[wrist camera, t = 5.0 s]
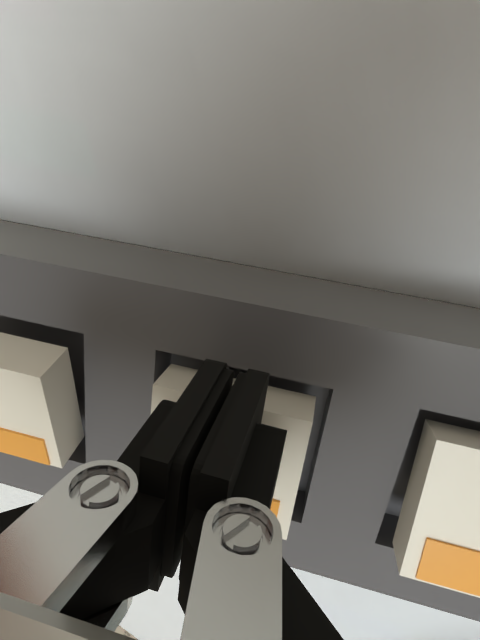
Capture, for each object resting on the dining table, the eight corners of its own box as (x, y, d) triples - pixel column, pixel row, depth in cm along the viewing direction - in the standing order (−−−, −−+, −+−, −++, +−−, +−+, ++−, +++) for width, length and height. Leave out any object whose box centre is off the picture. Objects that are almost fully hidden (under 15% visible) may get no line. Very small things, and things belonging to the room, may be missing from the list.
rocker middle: (161, 471, 15) (143, 502, 14) (171, 363, 14) (151, 385, 12) (292, 506, 14) (286, 542, 13) (316, 396, 13) (312, 423, 12)
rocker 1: (-25, 407, 17) (-56, 437, 15) (-59, 318, 14) (-98, 346, 13) (84, 436, 16) (61, 470, 15) (68, 347, 14) (38, 379, 12)
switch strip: (-17, 411, 21) (-82, 459, 17) (-41, 212, 17) (-128, 228, 14) (704, 600, 16) (788, 711, 13) (877, 382, 12) (1051, 462, 9)
